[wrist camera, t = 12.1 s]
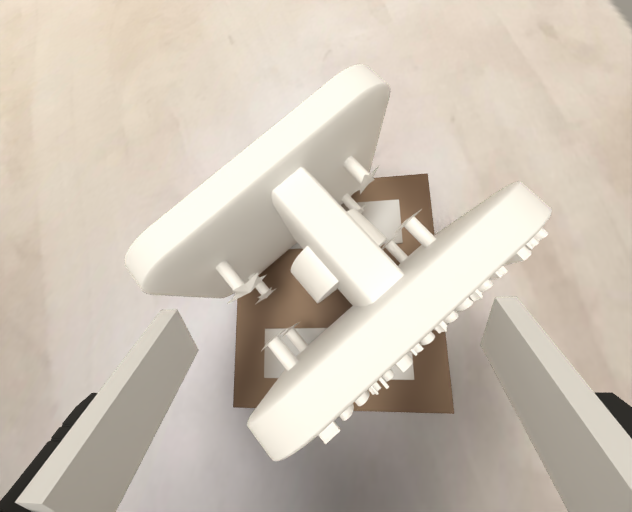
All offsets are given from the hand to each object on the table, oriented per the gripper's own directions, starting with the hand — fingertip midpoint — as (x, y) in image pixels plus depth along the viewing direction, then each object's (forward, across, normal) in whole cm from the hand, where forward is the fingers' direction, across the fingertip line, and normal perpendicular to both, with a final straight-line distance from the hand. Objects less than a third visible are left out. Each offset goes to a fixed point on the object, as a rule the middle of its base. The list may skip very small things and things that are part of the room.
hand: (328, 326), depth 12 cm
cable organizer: (+9, 0, -4) cm, 10 cm away
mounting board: (+10, 0, -6) cm, 11 cm away
